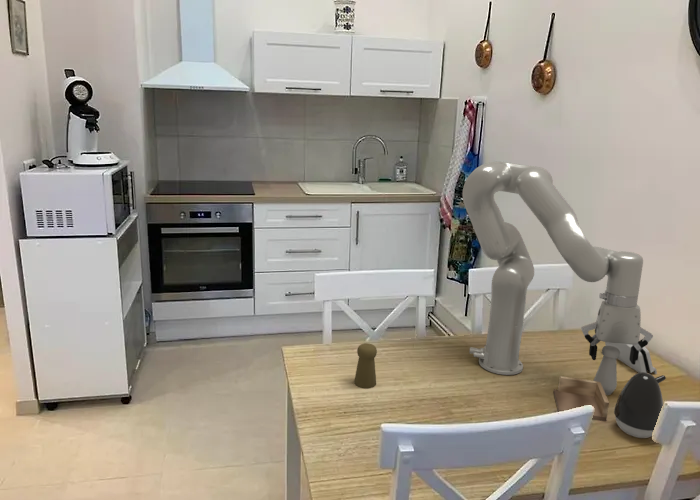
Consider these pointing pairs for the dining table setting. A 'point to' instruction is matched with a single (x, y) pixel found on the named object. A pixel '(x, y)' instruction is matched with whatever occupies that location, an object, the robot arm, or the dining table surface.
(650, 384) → the pump dispenser
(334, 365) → the dining table surface
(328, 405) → the dining table surface
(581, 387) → the corner tray
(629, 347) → the white rounded block
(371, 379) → the brown pawn
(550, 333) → the dining table surface
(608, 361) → the salt shaker
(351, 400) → the dining table surface
